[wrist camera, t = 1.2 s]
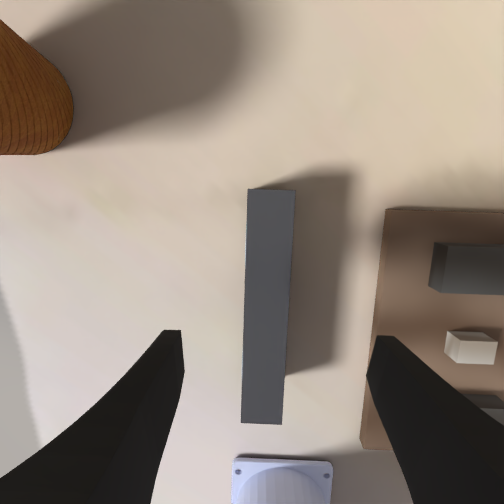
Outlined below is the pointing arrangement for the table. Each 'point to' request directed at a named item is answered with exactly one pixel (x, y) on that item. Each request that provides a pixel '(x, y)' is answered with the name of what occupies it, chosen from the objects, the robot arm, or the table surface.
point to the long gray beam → (266, 303)
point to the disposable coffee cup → (30, 99)
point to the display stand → (443, 304)
